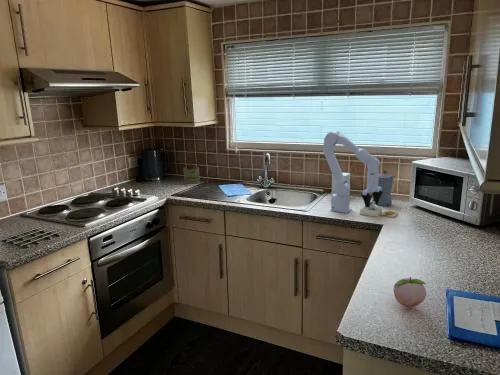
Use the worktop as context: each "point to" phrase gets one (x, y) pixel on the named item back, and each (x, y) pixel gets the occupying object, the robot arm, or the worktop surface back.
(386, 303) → the worktop surface
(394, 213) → the stud block
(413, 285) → the decorative fruit
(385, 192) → the moka pot
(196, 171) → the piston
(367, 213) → the tray
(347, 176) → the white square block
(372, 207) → the coffee tamper
